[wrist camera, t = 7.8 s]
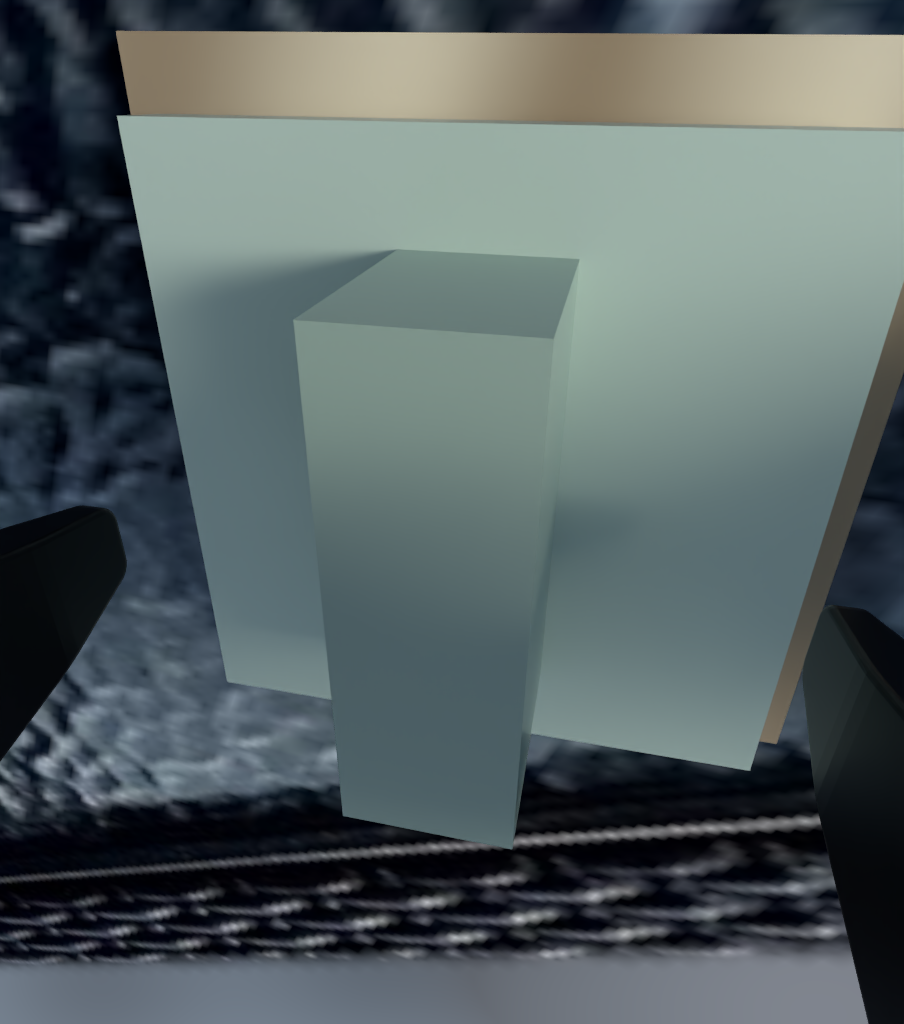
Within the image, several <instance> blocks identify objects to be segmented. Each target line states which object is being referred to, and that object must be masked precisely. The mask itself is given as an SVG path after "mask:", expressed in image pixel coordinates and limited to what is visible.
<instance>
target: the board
mask: <svg viewBox="0 0 904 1024" xmlns="http://www.w3.org/2000/svg"><path fill="white" fill-rule="evenodd" d="M116 35H117V41H118V46H119V52H120V57H121V63H122V68H123V74H124V79H125V85H126V90H127V96H128V101H129V107H130V112H131V115H143V114H200V115H252V116H303V117H355V118H407V119H459V120H511V121H562V122H614V123H666V124H718V125H770V126H821V127H873V128H904V35H780V34H589V33H399V32H208V31H116ZM903 373H904V282H903V285H902V288H901V291H900V295H899V298H898V301H897V304H896V307H895V311H894V314H893V317H892V320H891V323H890V326H889V330H888V333H887V336H886V339H885V342H884V346H883V349H882V352H881V355H880V358H879V361H878V365H877V368H876V371H875V374H874V377H873V381H872V384H871V387H870V390H869V393H868V396H867V400H866V403H865V406H864V409H863V412H862V415H861V419H860V422H859V425H858V428H857V431H856V435H855V438H854V441H853V444H852V447H851V450H850V454H849V457H848V460H847V463H846V466H845V470H844V473H843V476H842V479H841V482H840V485H839V489H838V492H837V495H836V498H835V501H834V505H833V508H832V511H831V514H830V517H829V520H828V524H827V527H826V530H825V533H824V536H823V539H822V543H821V546H820V549H819V552H818V555H817V559H816V562H815V565H814V568H813V571H812V574H811V578H810V581H809V584H808V587H807V590H806V594H805V597H804V600H803V603H802V606H801V609H800V613H799V616H798V619H797V622H796V625H795V629H794V632H793V635H792V638H791V641H790V644H789V648H788V651H787V654H786V657H785V660H784V664H783V667H782V670H781V673H780V676H779V679H778V683H777V686H776V689H775V692H774V695H773V698H772V702H771V705H770V708H769V711H768V714H767V718H766V721H765V724H764V727H763V730H762V733H761V737H760V740H759V741H762V742H768V743H774V744H777V741H778V738H779V735H780V732H781V730H782V727H783V724H784V721H785V718H786V715H787V712H788V709H789V706H790V703H791V700H792V697H793V695H794V692H795V689H796V686H797V683H798V680H799V677H800V674H801V671H802V668H803V665H804V660H805V657H806V654H807V651H808V648H809V645H810V642H811V639H812V636H813V633H814V630H815V627H816V624H817V621H818V619H819V616H820V613H821V612H822V610H823V607H824V604H825V601H826V598H827V595H828V592H829V589H830V586H831V584H832V581H833V578H834V575H835V572H836V569H837V566H838V563H839V560H840V557H841V554H842V551H843V549H844V546H845V543H846V540H847V537H848V534H849V531H850V528H851V525H852V522H853V519H854V516H855V513H856V511H857V508H858V505H859V502H860V499H861V496H862V493H863V490H864V487H865V484H866V481H867V478H868V476H869V473H870V470H871V467H872V464H873V461H874V458H875V455H876V452H877V449H878V446H879V443H880V440H881V438H882V435H883V432H884V429H885V426H886V423H887V420H888V417H889V414H890V411H891V408H892V405H893V403H894V400H895V397H896V394H897V391H898V388H899V385H900V382H901V379H902V376H903Z"/></svg>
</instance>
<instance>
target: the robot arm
mask: <svg viewBox="0 0 904 1024" xmlns="http://www.w3.org/2000/svg"><path fill="white" fill-rule="evenodd" d="M126 567H127V560H126V555H125V551H124V547H123V543H122V539H121V536H120V532H119V528H118V524H117V520H116V517H115V516H114V514H113V513H112V512H111V511H110V510H108V509H106V508H99V507H91V506H84V505H83V506H76V507H72V508H69V509H66V510H63V511H59V512H56V513H53V514H49V515H46V516H43V517H39V518H36V519H33V520H29V521H26V522H23V523H19V524H16V525H13V526H9V527H6V528H3V529H0V761H1V760H2V758H3V757H4V756H5V754H6V753H7V752H8V750H9V749H10V748H11V746H12V745H13V744H14V742H15V741H16V740H17V738H18V737H19V736H20V734H21V733H22V732H23V730H24V729H25V727H26V726H27V725H28V723H29V722H30V721H31V719H32V718H33V717H34V715H35V714H36V713H37V711H38V710H39V709H40V707H41V706H42V705H43V703H44V702H45V701H46V699H47V698H48V696H49V695H50V694H51V692H52V691H53V690H54V688H55V687H56V686H57V684H58V683H59V682H60V680H61V679H62V677H63V676H64V675H65V673H66V672H67V670H68V669H69V667H70V666H71V664H72V663H73V661H74V660H75V658H76V656H77V655H78V653H79V652H80V650H81V648H82V647H83V645H84V643H85V642H86V640H87V638H88V637H89V635H90V633H91V632H92V630H93V628H94V626H95V625H96V623H97V621H98V620H99V618H100V616H101V615H102V613H103V611H104V610H105V608H106V606H107V605H108V603H109V601H110V600H111V598H112V596H113V595H114V593H115V591H116V590H117V588H118V586H119V585H120V583H121V581H122V580H123V578H124V575H125V572H126ZM803 688H804V698H805V707H806V716H807V726H808V735H809V744H810V754H811V763H812V772H813V781H814V789H815V796H816V802H817V807H818V812H819V816H820V821H821V825H822V830H823V834H824V838H825V842H826V847H827V851H828V855H829V859H830V863H831V868H832V872H833V876H834V880H835V884H836V889H837V893H838V897H839V901H840V906H841V910H842V914H843V918H844V922H845V927H846V931H847V935H848V939H849V943H850V948H851V952H852V956H853V960H854V965H855V969H856V973H857V977H858V981H859V985H860V990H861V994H862V998H863V1002H864V1006H865V1011H866V1015H867V1019H868V1024H904V639H903V638H902V637H901V636H899V635H898V634H897V633H895V632H894V631H893V630H891V629H890V628H889V627H888V626H886V625H885V624H884V623H882V622H881V621H880V620H879V619H877V618H876V617H875V616H873V615H872V614H871V613H869V612H868V611H866V610H864V609H860V608H852V607H844V606H836V605H829V606H827V607H825V608H824V609H823V610H822V612H821V613H820V616H819V619H818V621H817V624H816V627H815V630H814V633H813V636H812V639H811V642H810V645H809V648H808V651H807V654H806V657H805V660H804V665H803Z"/></svg>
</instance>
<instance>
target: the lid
mask: <svg viewBox="0 0 904 1024" xmlns="http://www.w3.org/2000/svg"><path fill="white" fill-rule="evenodd" d="M117 119H118V125H119V130H120V135H121V140H122V145H123V150H124V155H125V160H126V166H127V171H128V176H129V181H130V186H131V191H132V196H133V201H134V207H135V212H136V217H137V222H138V227H139V232H140V237H141V242H142V247H143V253H144V258H145V263H146V268H147V273H148V278H149V283H150V288H151V294H152V299H153V304H154V309H155V314H156V319H157V324H158V329H159V335H160V340H161V345H162V350H163V355H164V360H165V365H166V370H167V376H168V381H169V386H170V391H171V396H172V401H173V406H174V411H175V417H176V422H177V427H178V432H179V437H180V442H181V447H182V452H183V458H184V463H185V468H186V473H187V478H188V483H189V488H190V493H191V499H192V504H193V509H194V514H195V519H196V524H197V529H198V534H199V540H200V545H201V550H202V555H203V560H204V565H205V570H206V575H207V580H208V586H209V591H210V596H211V601H212V606H213V611H214V616H215V621H216V627H217V632H218V637H219V642H220V647H221V652H222V657H223V662H224V668H225V673H226V678H227V682H231V683H237V684H243V685H249V686H255V687H261V688H266V689H272V690H278V691H284V692H290V693H296V694H302V695H308V696H313V697H319V698H325V699H331V701H332V711H333V720H334V730H335V740H336V750H337V760H338V770H339V780H340V790H341V800H342V810H343V816H347V817H352V818H358V819H363V820H368V821H373V822H378V823H383V824H388V825H393V826H398V827H403V828H408V829H413V830H418V831H423V832H428V833H433V834H438V835H443V836H448V837H453V838H458V839H463V840H468V841H473V842H478V843H483V844H488V845H493V846H498V847H503V848H508V849H512V848H513V841H514V835H515V829H516V823H517V817H518V811H519V804H520V798H521V792H522V786H523V780H524V773H525V767H526V761H527V755H528V749H529V743H530V736H531V734H537V735H543V736H549V737H554V738H560V739H566V740H572V741H578V742H584V743H590V744H596V745H601V746H607V747H613V748H619V749H625V750H631V751H637V752H643V753H648V754H654V755H660V756H666V757H672V758H678V759H684V760H690V761H695V762H701V763H707V764H713V765H719V766H725V767H731V768H737V769H742V770H748V771H750V768H751V765H752V762H753V759H754V756H755V753H756V749H757V746H758V743H759V740H760V737H761V733H762V730H763V727H764V724H765V721H766V718H767V714H768V711H769V708H770V705H771V702H772V698H773V695H774V692H775V689H776V686H777V683H778V679H779V676H780V673H781V670H782V667H783V664H784V660H785V657H786V654H787V651H788V648H789V644H790V641H791V638H792V635H793V632H794V629H795V625H796V622H797V619H798V616H799V613H800V609H801V606H802V603H803V600H804V597H805V594H806V590H807V587H808V584H809V581H810V578H811V574H812V571H813V568H814V565H815V562H816V559H817V555H818V552H819V549H820V546H821V543H822V539H823V536H824V533H825V530H826V527H827V524H828V520H829V517H830V514H831V511H832V508H833V505H834V501H835V498H836V495H837V492H838V489H839V485H840V482H841V479H842V476H843V473H844V470H845V466H846V463H847V460H848V457H849V454H850V450H851V447H852V444H853V441H854V438H855V435H856V431H857V428H858V425H859V422H860V419H861V415H862V412H863V409H864V406H865V403H866V400H867V396H868V393H869V390H870V387H871V384H872V381H873V377H874V374H875V371H876V368H877V365H878V361H879V358H880V355H881V352H882V349H883V346H884V342H885V339H886V336H887V333H888V330H889V326H890V323H891V320H892V317H893V314H894V311H895V307H896V304H897V301H898V298H899V295H900V291H901V288H902V285H903V282H904V128H873V127H821V126H770V125H718V124H666V123H614V122H562V121H511V120H459V119H407V118H355V117H303V116H252V115H200V114H143V115H124V116H117Z"/></svg>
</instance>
